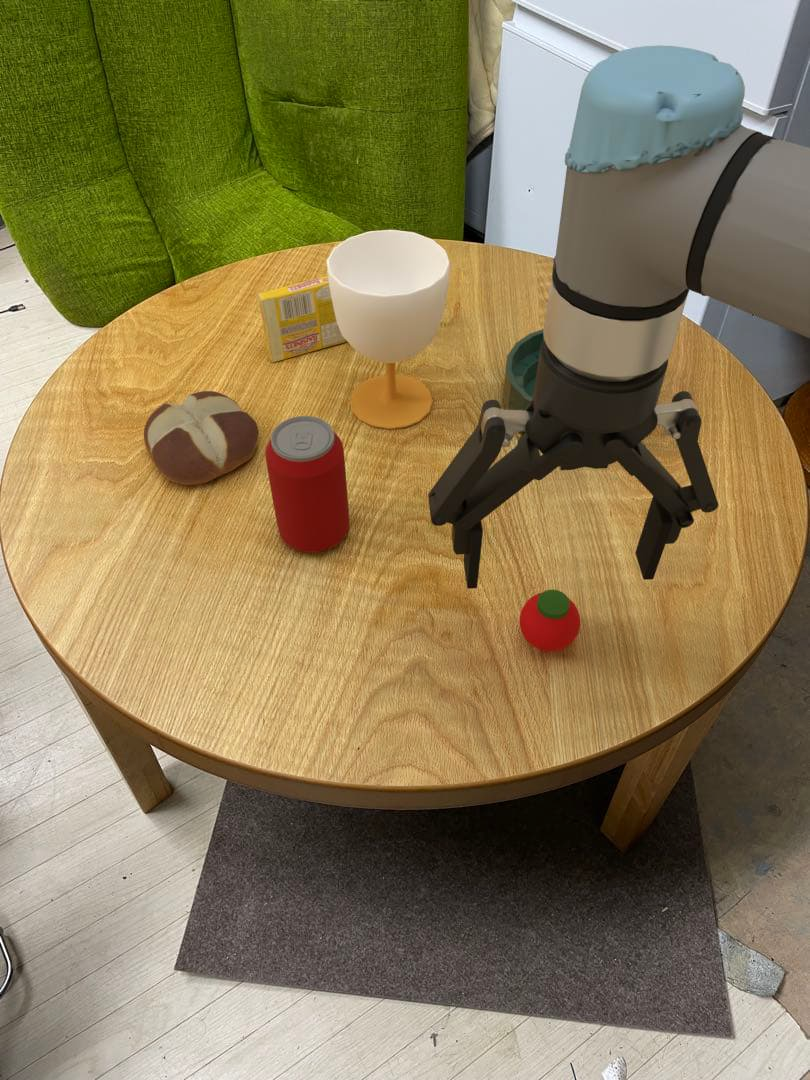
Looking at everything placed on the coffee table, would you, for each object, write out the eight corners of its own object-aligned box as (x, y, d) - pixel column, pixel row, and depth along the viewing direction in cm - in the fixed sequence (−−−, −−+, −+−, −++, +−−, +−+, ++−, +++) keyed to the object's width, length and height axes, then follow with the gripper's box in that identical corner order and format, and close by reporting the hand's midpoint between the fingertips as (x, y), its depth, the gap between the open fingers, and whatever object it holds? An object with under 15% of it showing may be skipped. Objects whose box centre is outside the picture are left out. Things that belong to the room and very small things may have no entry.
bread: (167, 501, 85) (156, 464, 81) (138, 430, 92) (127, 393, 88) (274, 466, 88) (268, 429, 84) (239, 401, 95) (232, 363, 91)
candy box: (394, 318, 105) (392, 256, 98) (401, 328, 103) (400, 266, 97) (266, 353, 100) (256, 291, 94) (272, 364, 99) (262, 301, 93)
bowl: (660, 384, 96) (670, 347, 92) (619, 471, 87) (629, 434, 83) (532, 348, 101) (536, 311, 97) (480, 427, 92) (483, 390, 88)
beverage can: (351, 504, 84) (344, 409, 75) (348, 558, 80) (340, 464, 71) (282, 505, 84) (266, 410, 75) (275, 558, 80) (258, 464, 71)
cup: (422, 359, 99) (424, 220, 87) (461, 422, 92) (469, 281, 79) (324, 381, 97) (310, 242, 84) (356, 449, 90) (347, 307, 77)
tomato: (583, 627, 75) (593, 590, 71) (564, 672, 72) (572, 636, 68) (529, 607, 76) (535, 569, 72) (507, 650, 73) (513, 613, 69)
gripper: (790, 300, 54) (701, 526, 70) (390, 315, 53) (394, 541, 69) (837, 376, 49) (730, 600, 65) (398, 394, 48) (399, 618, 64)
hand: (557, 570), depth 67 cm, fingers open, 13 cm apart
